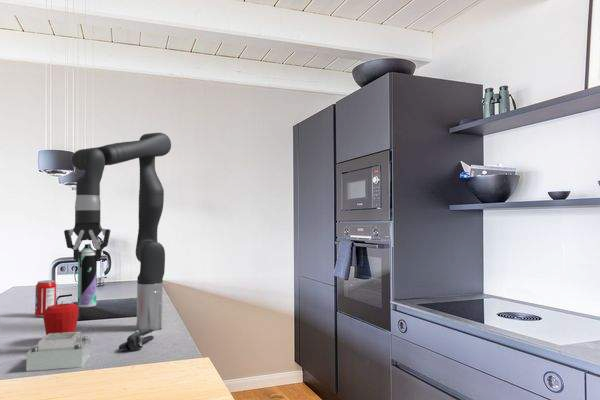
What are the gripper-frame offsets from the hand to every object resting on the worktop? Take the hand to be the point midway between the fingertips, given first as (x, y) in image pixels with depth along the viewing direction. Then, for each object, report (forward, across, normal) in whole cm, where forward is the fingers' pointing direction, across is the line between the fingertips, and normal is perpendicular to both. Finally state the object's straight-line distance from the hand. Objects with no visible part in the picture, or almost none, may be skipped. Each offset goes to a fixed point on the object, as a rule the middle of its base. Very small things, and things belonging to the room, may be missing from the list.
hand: (87, 260), depth 145 cm
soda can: (+28, +27, -56) cm, 69 cm away
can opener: (+29, -16, +1) cm, 33 cm away
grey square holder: (+28, +4, +14) cm, 32 cm away
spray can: (+15, 0, 0) cm, 15 cm away
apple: (+28, +10, -11) cm, 32 cm away
